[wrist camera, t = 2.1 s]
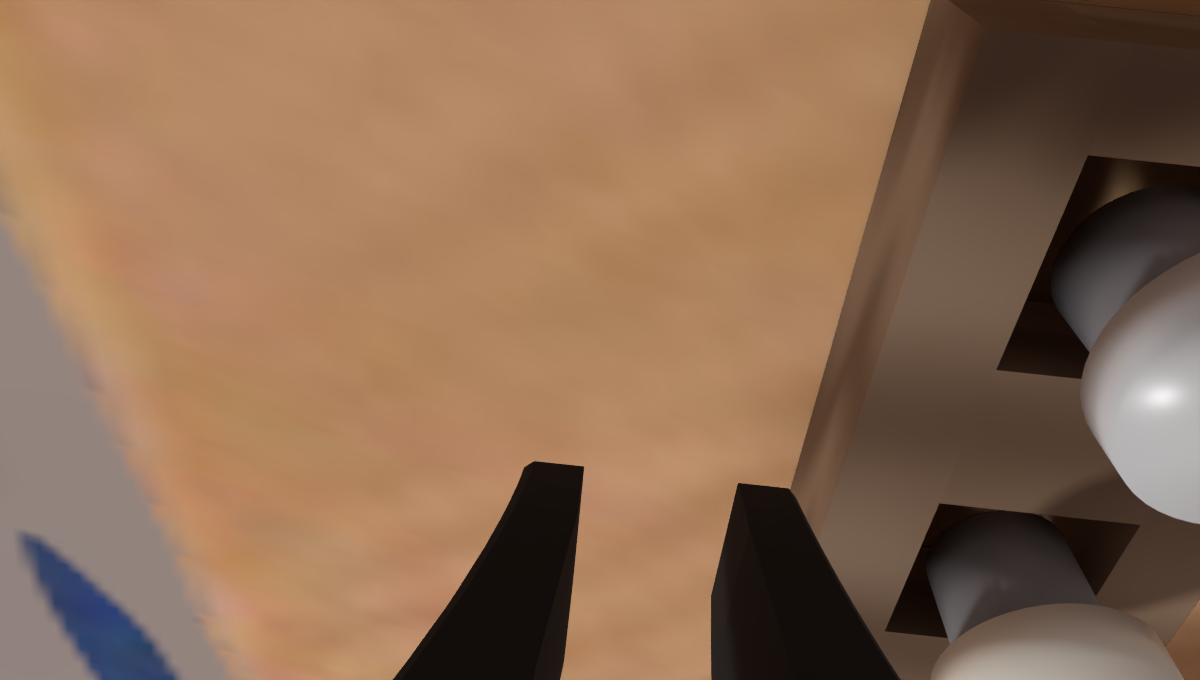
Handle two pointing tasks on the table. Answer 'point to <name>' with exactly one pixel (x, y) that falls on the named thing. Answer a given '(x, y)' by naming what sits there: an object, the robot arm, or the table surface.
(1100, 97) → the knob mount
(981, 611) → the knob
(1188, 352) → the knob
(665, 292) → the table surface
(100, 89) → the table surface
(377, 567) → the table surface
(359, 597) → the table surface
